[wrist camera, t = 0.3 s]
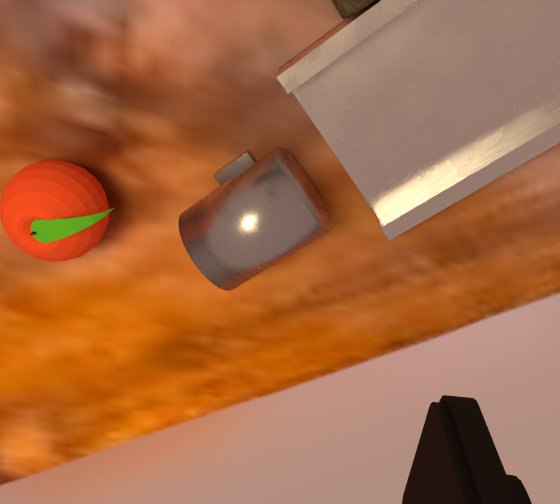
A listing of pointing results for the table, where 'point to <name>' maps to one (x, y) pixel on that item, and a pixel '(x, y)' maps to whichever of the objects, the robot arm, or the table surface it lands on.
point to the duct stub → (253, 218)
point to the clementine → (54, 210)
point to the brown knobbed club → (350, 6)
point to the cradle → (432, 98)
